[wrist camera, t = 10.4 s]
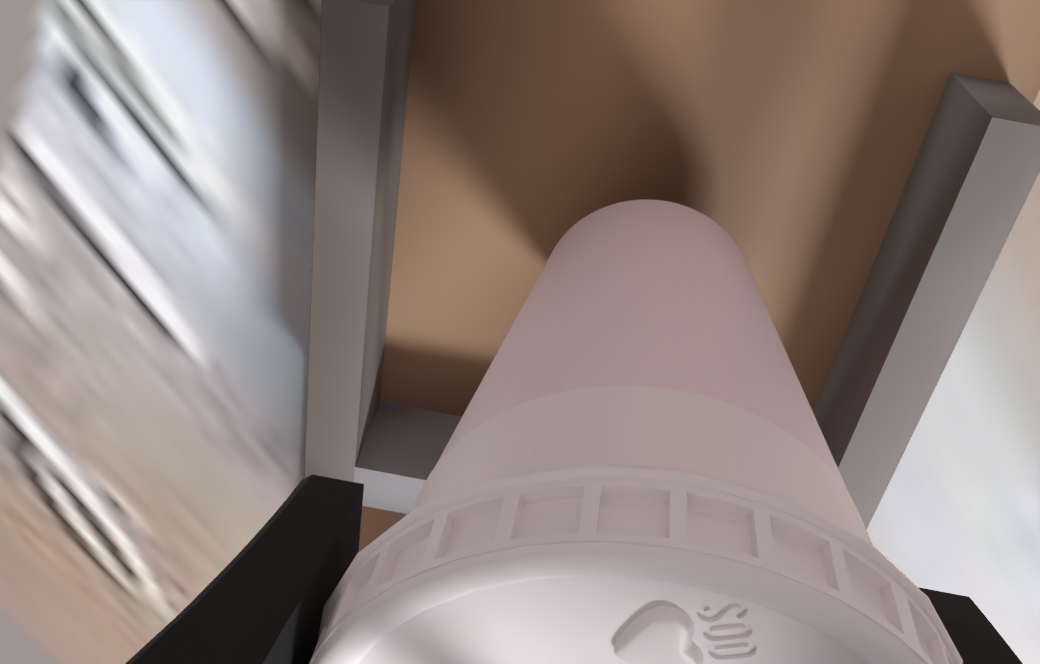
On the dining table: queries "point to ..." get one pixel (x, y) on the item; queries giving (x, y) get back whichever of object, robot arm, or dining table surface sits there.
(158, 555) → the dining table surface
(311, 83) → the dining table surface
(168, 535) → the dining table surface
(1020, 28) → the open-sided grey tray
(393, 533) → the smoothie
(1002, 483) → the dining table surface
